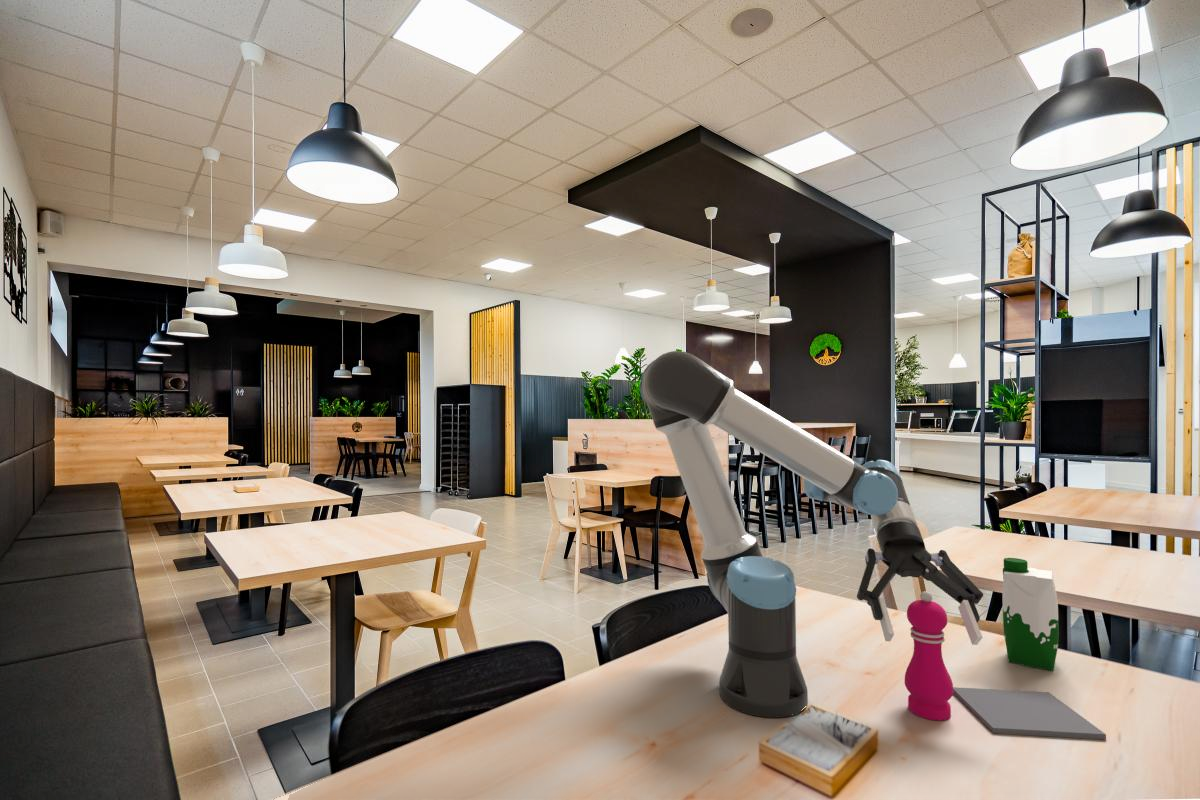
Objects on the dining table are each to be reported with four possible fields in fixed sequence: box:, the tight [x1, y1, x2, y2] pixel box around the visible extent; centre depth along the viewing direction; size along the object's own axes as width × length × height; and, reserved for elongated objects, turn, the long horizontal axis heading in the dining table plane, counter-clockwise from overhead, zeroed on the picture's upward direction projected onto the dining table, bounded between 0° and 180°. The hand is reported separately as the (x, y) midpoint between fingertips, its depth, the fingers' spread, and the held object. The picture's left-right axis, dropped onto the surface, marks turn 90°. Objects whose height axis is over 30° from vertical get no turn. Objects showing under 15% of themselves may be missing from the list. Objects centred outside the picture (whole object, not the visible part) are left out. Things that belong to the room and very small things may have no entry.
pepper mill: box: [904, 590, 954, 721], centre depth 99 cm, size 7×7×20 cm
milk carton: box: [1001, 557, 1060, 672], centre depth 119 cm, size 9×9×20 cm
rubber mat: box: [953, 686, 1107, 740], centre depth 97 cm, size 16×14×1 cm
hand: (933, 639), depth 97 cm, fingers open, 13 cm apart
